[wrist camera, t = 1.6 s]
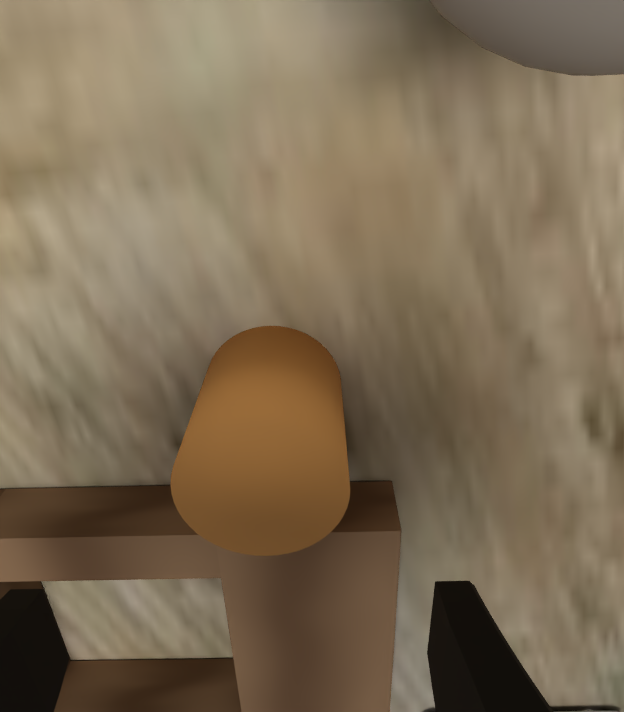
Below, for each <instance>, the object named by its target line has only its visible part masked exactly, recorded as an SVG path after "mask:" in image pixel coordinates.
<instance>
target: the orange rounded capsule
mask: <svg viewBox="0 0 624 712" xmlns="http://www.w3.org/2000/svg"><path fill="white" fill-rule="evenodd" d="M170 485H171V494H172V497H173V501H174V504H175V506H176V508H177V510H178V512H179V514H180V515H181V517H182V518H183V520H184V521H185V522H186V523H187V524H188V525H189V527H190V528H192V529H193V530H194V531H195V532H196V533H197V534H199V535H200V536H201V537H203V538H204V539H206V540H207V541H209V542H211V543H213V544H215V545H217V546H219V547H221V548H224V549H227V550H230V551H233V552H237V553H241V554H247V555H255V556H273V555H282V554H288V553H292V552H295V551H299V550H302V549H304V548H307V547H309V546H311V545H313V544H315V543H317V542H318V541H320V540H321V539H323V538H324V537H326V536H327V535H328V534H329V533H330V532H331V531H333V529H334V528H335V527H336V526H337V525H338V524H339V522H340V521H341V519H342V518H343V516H344V514H345V512H346V509H347V507H348V503H349V499H350V480H349V469H348V457H347V446H346V434H345V423H344V411H343V400H342V389H341V378H340V373H339V370H338V367H337V365H336V363H335V361H334V359H333V357H332V356H331V354H330V353H329V352H328V351H327V349H326V348H325V347H324V346H323V345H322V344H321V343H319V342H318V341H317V340H315V339H314V338H312V337H310V336H309V335H307V334H305V333H303V332H300V331H298V330H295V329H291V328H287V327H281V326H263V327H257V328H252V329H249V330H246V331H243V332H241V333H239V334H237V335H235V336H233V337H232V338H230V339H229V340H227V341H226V342H225V343H224V344H223V345H222V346H221V347H220V348H219V349H218V351H217V352H216V353H215V355H214V357H213V358H212V360H211V363H210V365H209V367H208V370H207V373H206V376H205V379H204V381H203V384H202V387H201V390H200V393H199V396H198V398H197V401H196V404H195V407H194V410H193V412H192V415H191V418H190V421H189V424H188V426H187V429H186V432H185V435H184V438H183V440H182V443H181V446H180V449H179V452H178V454H177V457H176V460H175V463H174V466H173V469H172V474H171V484H170Z"/></svg>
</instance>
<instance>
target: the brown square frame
mask: <svg viewBox="0 0 624 712" xmlns="http://www.w3.org/2000/svg"><path fill="white" fill-rule="evenodd" d="M400 544H401V527H400V521H399V516H398V511H397V506H396V500H395V495H394V490H393V485H392V481H368V482H350V499H349V503H348V507H347V509H346V512H345V514H344V516H343V518H342V519H341V521H340V522H339V524H338V525H337V526H336V527H335V528H334V529H333V531H331V532H330V533H329V534H328V535H327V536H326V537H324V538H323V539H321V540H320V541H318V542H317V543H315V544H313V545H311V546H309V547H307V548H304V549H302V550H299V551H295V552H292V553H288V554H282V555H273V556H255V555H247V554H241V553H237V552H233V551H230V550H227V549H224V548H221V547H219V546H217V545H215V544H213V543H211V542H209V541H207V540H206V539H204V538H203V537H201V536H200V535H199V534H197V533H196V532H195V531H194V530H193V529H192V528H190V527H189V525H188V524H187V523H186V522H185V521H184V520H183V518H182V517H181V515H180V514H179V512H178V510H177V508H176V506H175V504H174V501H173V497H172V494H171V486H123V487H75V488H26V489H0V599H1V598H2V597H3V596H4V595H5V594H6V593H7V592H8V591H9V590H10V589H43V587H42V584H41V581H74V580H131V579H187V578H221V580H222V587H223V594H224V600H225V607H226V613H227V620H228V626H229V633H230V639H231V646H232V652H233V659H168V660H102V661H70V658H69V662H68V665H67V669H66V673H65V676H64V680H63V683H62V687H61V690H60V694H59V697H58V700H57V703H56V707H55V710H54V712H390V699H391V684H392V668H393V653H394V637H395V622H396V606H397V591H398V575H399V560H400ZM43 590H44V589H43ZM44 593H45V592H44ZM46 598H47V597H46ZM47 601H48V600H47ZM49 606H50V605H49ZM50 609H51V608H50ZM52 614H53V613H52ZM53 617H54V616H53ZM54 619H55V618H54ZM55 622H56V621H55ZM57 627H58V626H57ZM58 630H59V629H58ZM60 635H61V634H60ZM61 638H62V637H61ZM63 643H64V642H63ZM64 646H65V645H64ZM66 651H67V650H66Z"/></svg>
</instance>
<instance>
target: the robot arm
mask: <svg viewBox="0 0 624 712" xmlns="http://www.w3.org/2000/svg"><path fill="white" fill-rule="evenodd" d="M427 654H428V661H429V668H430V675H431V682H432V688H433V695H434V701H435V708H436V712H618V711H553V710H552V709H551V708H550V706H549V705H548V703H547V702H546V700H545V699H544V697H543V696H542V694H541V693H540V691H539V690H538V689H537V687H536V686H535V684H534V683H533V681H532V680H531V678H530V677H529V675H528V674H527V672H526V671H525V669H524V668H523V666H522V665H521V663H520V662H519V660H518V658H517V657H516V655H515V654H514V652H513V651H512V649H511V647H510V646H509V644H508V643H507V641H506V639H505V638H504V636H503V635H502V633H501V631H500V630H499V628H498V626H497V625H496V623H495V621H494V620H493V618H492V616H491V615H490V613H489V611H488V609H487V608H486V606H485V604H484V602H483V601H482V599H481V597H480V595H479V593H478V592H477V590H476V588H475V586H474V585H473V584H472V583H471V582H470V581H437V582H435V588H434V597H433V606H432V615H431V624H430V633H429V642H428V651H427ZM68 662H69V656H68V653H67V651H66V648H65V646H64V643H63V640H62V638H61V635H60V632H59V630H58V627H57V624H56V622H55V619H54V617H53V614H52V611H51V609H50V606H49V603H48V601H47V598H46V595H45V593H44V590H43V589H10V590H9V591H8V592H7V593H6V594H5V595H4V596H3V597H2V598H1V599H0V712H54V710H55V707H56V703H57V700H58V697H59V694H60V690H61V687H62V683H63V680H64V676H65V673H66V669H67V665H68Z"/></svg>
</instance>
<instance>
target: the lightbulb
mask: <svg viewBox="0 0 624 712" xmlns="http://www.w3.org/2000/svg"><path fill="white" fill-rule="evenodd" d="M429 1H430V2H431V3H432V5H433V6H434V7H435V8H436V9H437V11H438V12H439V13H440V14H441V16H442V17H443V18H445V19H446V20H447V21H449V22H450V23H451V24H453V25H454V26H455V27H456V28H458V29H459V30H460V31H462V32H463V33H464V34H465V35H467V36H468V37H469V38H471V39H472V40H473V41H475V42H476V43H477V44H478V45H480V46H481V47H483V48H485V49H487V50H489V51H491V52H494V53H496V54H498V55H500V56H503V57H505V58H507V59H509V60H512V61H514V62H516V63H518V64H521V65H523V66H525V67H530V68H535V69H541V70H546V71H552V72H557V73H562V74H568V75H587V76H594V75H617V74H624V0H429Z"/></svg>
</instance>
